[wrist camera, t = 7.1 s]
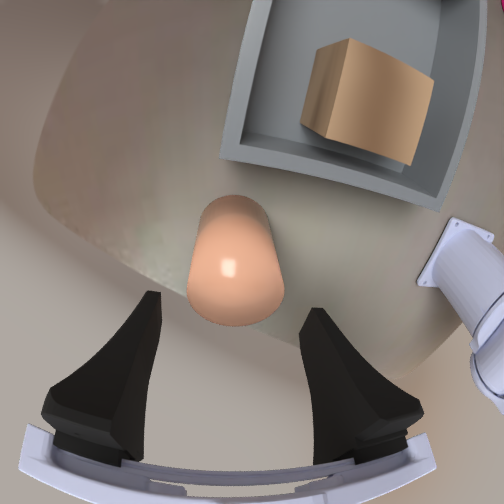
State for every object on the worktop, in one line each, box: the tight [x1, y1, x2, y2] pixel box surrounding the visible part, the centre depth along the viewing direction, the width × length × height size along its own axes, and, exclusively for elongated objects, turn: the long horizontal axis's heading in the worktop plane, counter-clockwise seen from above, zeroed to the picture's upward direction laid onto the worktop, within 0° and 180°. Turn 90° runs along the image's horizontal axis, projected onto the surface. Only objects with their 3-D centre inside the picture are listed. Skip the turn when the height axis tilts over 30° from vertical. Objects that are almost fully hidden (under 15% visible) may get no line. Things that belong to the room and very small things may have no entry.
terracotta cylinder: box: [187, 195, 284, 326], centre depth 17 cm, size 5×5×7 cm
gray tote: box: [219, 0, 487, 212], centre depth 10 cm, size 14×18×5 cm
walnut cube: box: [300, 38, 434, 166], centre depth 12 cm, size 5×5×5 cm
